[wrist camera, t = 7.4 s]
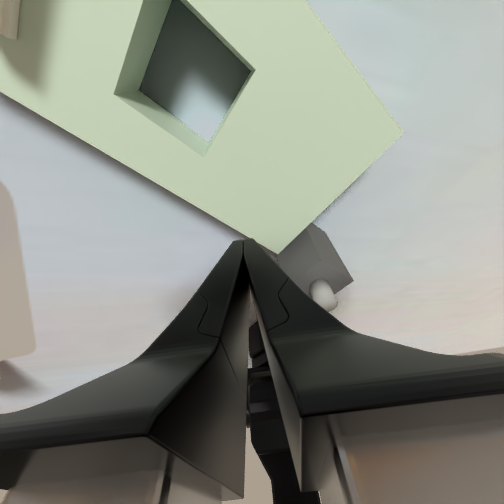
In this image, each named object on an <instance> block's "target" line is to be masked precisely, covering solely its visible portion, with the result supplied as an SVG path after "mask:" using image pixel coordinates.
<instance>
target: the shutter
mask: <svg viewBox="0 0 504 504" xmlns="http://www.w3.org/2000/svg"><path fill="white" fill-rule="evenodd" d="M19 8H20V0H0V34H2V35H4V36H5V37H7V38H10V39H16V40H17V29H18V19H19Z"/></svg>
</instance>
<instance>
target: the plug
mask: <svg viewBox="0 0 504 504" xmlns="http://www.w3.org/2000/svg"><path fill="white" fill-rule="evenodd" d="M276 257H277V261H278V265H279V266H280V268H281V269H282V270H283V271H284V272H285V273H286V274H287V275H288V276H289V277H290V278H291V279H292V280H293V281H294V282H295V284H296V285H297V286H298V287H299V288H300V289H302V290H303V291H304V292H305V293H306V294H307V295H308V296H309V297H310V298H312V299H313V300H314V301H315V302H316V303H318V304H319V305H320V306H321V307H323V308H324V309H325V310H326V311H327V312H329V311H331V310H333V309H335V308H336V307H337V305H338V302H337V300H336V298H335V295H334V294H336V293H337V292H338V291H340V290H341V289H343V288H344V287H346V286H347V285H348V284H350V283H351V282H353V279H352V277H351V276H350V274H349V272H348V270H347V269H346V267H345V265H344V264H343V262H342V260H341V258H340V257H339V255H338V253H337V252H336V250H335V248H334V246H333V245H332V243H331V241H330V240H329V238H328V236H327V234H326V233H325V232H324V231H322V230H321V229H320V228H318V227H317V226H316V225H314V224H313V223H312V222H311V223H310V224H309V225H308V226H307V227H306V228H305V229H304V230H303V231H302V232H301V233H300V234H299V235H298V236H297V237H295V238H294V239H293V240H292V241H291V242H290V243H289V244H288V245H287V246H286V247H285V248H284V249H283V250H282V251H281V252H280V253H279V254H276Z"/></svg>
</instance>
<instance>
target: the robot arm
mask: <svg viewBox="0 0 504 504" xmlns="http://www.w3.org/2000/svg"><path fill="white" fill-rule="evenodd" d="M250 289H251V294H252V298H253V302H254V306H255V310H256V314H257V318H258V322H257V323H256V324H254V325H253V326H252V327H251V328H249V307H250ZM248 340H249V355H250V358H252V368H248ZM246 427H247V428H250V431H251V442H252V445H253V447H254V449H255V451H256V453H257V454H258V456H259V458H260V460H261V462H262V464H263V466H264V468H265V470H266V471H267V473H268V475H269V477H270V479H271V484H272V493H273V504H321V503H320V498H319V493H318V491H320V496H321V501H322V504H504V354H501V353H483V354H475V355H464V356H456V355H444V354H437V353H432V352H427V351H423V350H419V349H416V348H412V347H408V346H404V345H401V344H397V343H393V342H389V341H386V340H382V339H378V338H374V337H370V336H367V335H363V334H360V333H357V332H355V331H353V330H351V329H350V328H348V327H347V326H345V325H344V324H342V323H341V322H340V321H339V320H337V319H336V318H335V317H334V316H332V315H331V314H330V313H329V312H327V311H326V310H325V309H324V308H323V307H321V306H320V305H319V304H318V303H316V302H315V301H314V300H313V299H312V298H310V297H309V296H308V295H307V294H306V293H305V292H304V291H303V290H302V289H300V288H299V287H298V286H297V285H296V284H295V282H294V281H293V280H292V279H291V278H290V277H289V276H288V275H287V274H286V273H285V272H284V271H283V270H282V269H281V268H280V266H279V265H278V264H277V263H276V262H275V261H274V260H273V259H272V258H271V257H270V256H269V255H268V254H267V253H266V251H265V250H264V249H263V248H262V247H261V246H260V245H259V244H258V243H257V242H256V241H255V240H254V239H253V238H249V239H244V241H243V240H236V241H233V242H232V244H231V245H230V246H229V248H228V249H227V250H226V252H225V253H224V255H223V256H222V257H221V259H220V260H219V261H218V263H217V264H216V265H215V267H214V268H213V270H212V271H211V272H210V274H209V275H208V276H207V278H206V279H205V281H204V282H203V283H202V285H201V286H200V287H199V289H198V290H197V292H196V293H195V294H194V295H193V297H192V298H191V299H190V301H189V302H188V303H187V305H186V306H185V307H184V308H183V310H182V311H181V312H180V313H179V314H178V315H177V317H176V318H175V319H174V320H173V321H172V322H171V323H170V324H169V326H168V327H167V328H166V329H165V330H164V331H163V332H162V333H161V334H160V335H159V337H158V338H157V339H156V340H155V341H154V342H153V343H152V344H151V345H150V346H149V348H148V349H147V350H146V351H145V352H144V353H142V354H141V355H140V356H139V357H138V358H136V359H135V360H134V361H132V362H130V363H129V364H127V365H125V366H123V367H121V368H118V369H116V370H114V371H112V372H110V373H108V374H105V375H103V376H101V377H99V378H97V379H94V380H92V381H90V382H88V383H86V384H83V385H81V386H79V387H77V388H75V389H72V390H70V391H68V392H66V393H64V394H62V395H59V396H57V397H55V398H53V399H50V400H48V401H46V402H43V403H41V404H38V405H35V406H33V407H30V408H27V409H24V410H20V411H17V412H12V413H6V414H0V489H4V490H8V492H7V493H6V495H5V497H4V499H3V501H2V502H1V504H221V501H227V500H235V499H243V498H244V470H245V441H246V440H245V439H246Z"/></svg>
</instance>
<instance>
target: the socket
mask: <svg viewBox="0 0 504 504" xmlns="http://www.w3.org/2000/svg"><path fill="white" fill-rule="evenodd" d="M171 1H172V0H20V8H19V19H18V29H17V40H16V39H10V38H7V37H5V36H4V35H2V34H0V92H2V93H3V94H5V95H7V96H8V97H10V98H12V99H14V100H15V101H17V102H19V103H20V104H22V105H24V106H25V107H27V108H29V109H31V110H32V111H34V112H36V113H37V114H39V115H41V116H43V117H44V118H46V119H48V120H49V121H51V122H53V123H54V124H56V125H58V126H60V127H61V128H63V129H65V130H66V131H68V132H70V133H72V134H73V135H75V136H77V137H78V138H80V139H82V140H83V141H85V142H87V143H89V144H90V145H92V146H94V147H95V148H97V149H99V150H101V151H102V152H104V153H106V154H107V155H109V156H111V157H112V158H114V159H116V160H118V161H119V162H121V163H123V164H124V165H126V166H128V167H130V168H131V169H133V170H135V171H136V172H138V173H140V174H141V175H143V176H145V177H147V178H148V179H150V180H152V181H153V182H155V183H157V184H159V185H160V186H162V187H164V188H165V189H167V190H169V191H170V192H172V193H174V194H176V195H177V196H179V197H181V198H182V199H184V200H186V201H188V202H189V203H191V204H193V205H194V206H196V207H198V208H199V209H201V210H203V211H205V212H206V213H208V214H210V215H211V216H213V217H215V218H217V219H218V220H220V221H222V222H223V223H225V224H227V225H228V226H230V227H232V228H234V229H235V230H237V231H239V232H240V233H242V234H244V235H246V236H247V237H249V238H253V239H254V240H255V241H256V242H257V243H259V244H261V245H263V246H264V247H266V248H268V249H269V250H271V251H273V252H275V253H276V254H279V253H280V252H281V251H282V250H283V249H284V248H285V247H286V246H287V245H288V244H289V243H290V242H291V241H292V240H293V239H294V238H295V237H297V236H298V235H299V234H300V233H301V232H302V231H303V230H304V229H305V228H306V227H307V226H308V225H309V224H310V223H311V222H312V221H313V220H314V219H315V218H316V217H317V216H318V215H319V214H320V213H321V212H322V211H324V210H325V209H326V208H327V207H328V206H329V205H330V204H331V203H332V202H333V201H334V200H335V199H336V198H337V197H338V196H339V195H340V194H341V193H342V192H343V191H344V190H345V189H346V188H347V187H348V186H349V185H350V184H352V183H353V182H354V181H355V180H356V179H357V178H358V177H359V176H360V175H361V174H362V173H363V172H364V171H365V170H366V169H367V168H368V167H369V166H370V165H371V164H372V163H373V162H374V161H375V160H376V159H377V158H379V157H380V156H381V155H382V154H383V153H384V152H385V151H386V150H387V149H388V148H389V147H390V146H391V145H392V144H393V143H394V142H395V141H396V140H397V139H398V138H399V137H400V136H401V135H402V134H403V133H404V132H403V131H402V129H401V128H400V127H399V125H398V124H397V122H396V121H395V120H394V118H393V117H392V116H391V114H390V113H389V112H388V110H387V109H386V108H385V106H384V105H383V104H382V102H381V101H380V100H379V98H378V97H377V96H376V94H375V93H374V92H373V90H372V89H371V87H370V86H369V85H368V83H367V82H366V81H365V79H364V78H363V77H362V75H361V74H360V73H359V71H358V70H357V69H356V67H355V66H354V65H353V63H352V62H351V61H350V59H349V58H348V57H347V55H346V54H345V52H344V51H343V50H342V48H341V47H340V46H339V44H338V43H337V42H336V40H335V39H334V38H333V36H332V35H331V34H330V32H329V31H328V30H327V28H326V27H325V26H324V24H323V23H322V22H321V20H320V19H319V17H318V16H317V15H316V13H315V12H314V11H313V9H312V8H311V7H310V5H309V4H308V3H307V1H306V0H180V1H181V2H182V3H183V4H184V5H185V6H186V7H187V8H188V9H189V10H190V11H191V12H192V13H193V14H194V15H195V16H196V17H197V18H198V19H199V20H200V21H201V22H202V23H203V24H204V25H205V26H206V27H207V28H208V29H209V30H210V31H211V32H212V33H213V34H214V35H215V36H216V37H217V38H218V39H219V40H220V41H221V42H222V43H223V44H224V45H225V46H226V47H227V48H228V49H229V50H230V51H231V52H232V53H233V54H234V55H235V56H236V57H237V58H238V59H239V60H240V61H241V62H242V63H243V64H244V65H245V66H246V67H247V68H248V69H249V70H251V72H250V74H249V75H248V77H247V79H246V80H245V82H244V84H243V86H242V87H241V89H240V91H239V92H238V94H237V96H236V97H235V99H234V101H233V103H232V104H231V106H230V108H229V109H228V111H227V113H226V114H225V116H224V118H223V120H222V121H221V123H220V125H219V126H218V128H217V130H216V132H215V133H214V135H213V137H212V138H211V140H210V142H208V141H206V140H205V139H204V138H202V137H201V136H199V135H198V134H197V133H195V132H194V131H193V130H191V129H190V128H189V127H187V126H186V125H185V124H183V123H182V122H181V121H179V120H178V119H177V118H175V117H174V116H173V115H171V114H170V113H169V112H167V111H166V110H165V109H163V108H162V107H161V106H159V105H158V104H156V103H155V102H154V101H152V100H151V99H150V98H148V97H147V96H146V95H144V94H143V93H142V92H140V91H139V88H140V85H141V83H142V80H143V77H144V75H145V72H146V69H147V66H148V64H149V61H150V58H151V56H152V53H153V50H154V48H155V45H156V42H157V39H158V37H159V34H160V31H161V29H162V26H163V23H164V20H165V18H166V15H167V12H168V10H169V7H170V4H171Z"/></svg>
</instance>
